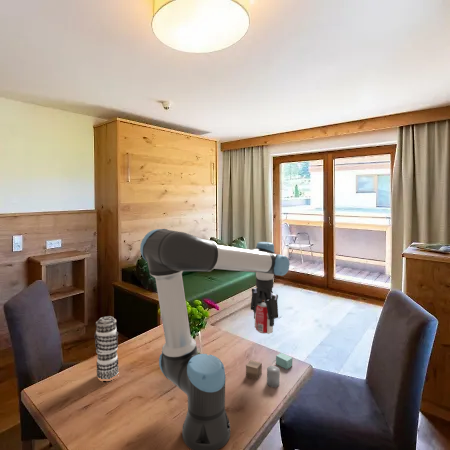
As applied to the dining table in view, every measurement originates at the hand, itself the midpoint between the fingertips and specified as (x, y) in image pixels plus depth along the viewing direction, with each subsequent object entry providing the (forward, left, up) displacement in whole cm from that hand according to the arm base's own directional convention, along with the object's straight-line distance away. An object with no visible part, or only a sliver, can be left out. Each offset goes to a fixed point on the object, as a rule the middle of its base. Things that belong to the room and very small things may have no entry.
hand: (263, 329), depth 131 cm
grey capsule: (-5, -11, -17) cm, 21 cm away
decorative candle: (-55, +37, -17) cm, 68 cm away
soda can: (0, 0, -1) cm, 1 cm away
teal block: (+9, -5, -17) cm, 20 cm away
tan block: (-7, -2, -17) cm, 19 cm away
